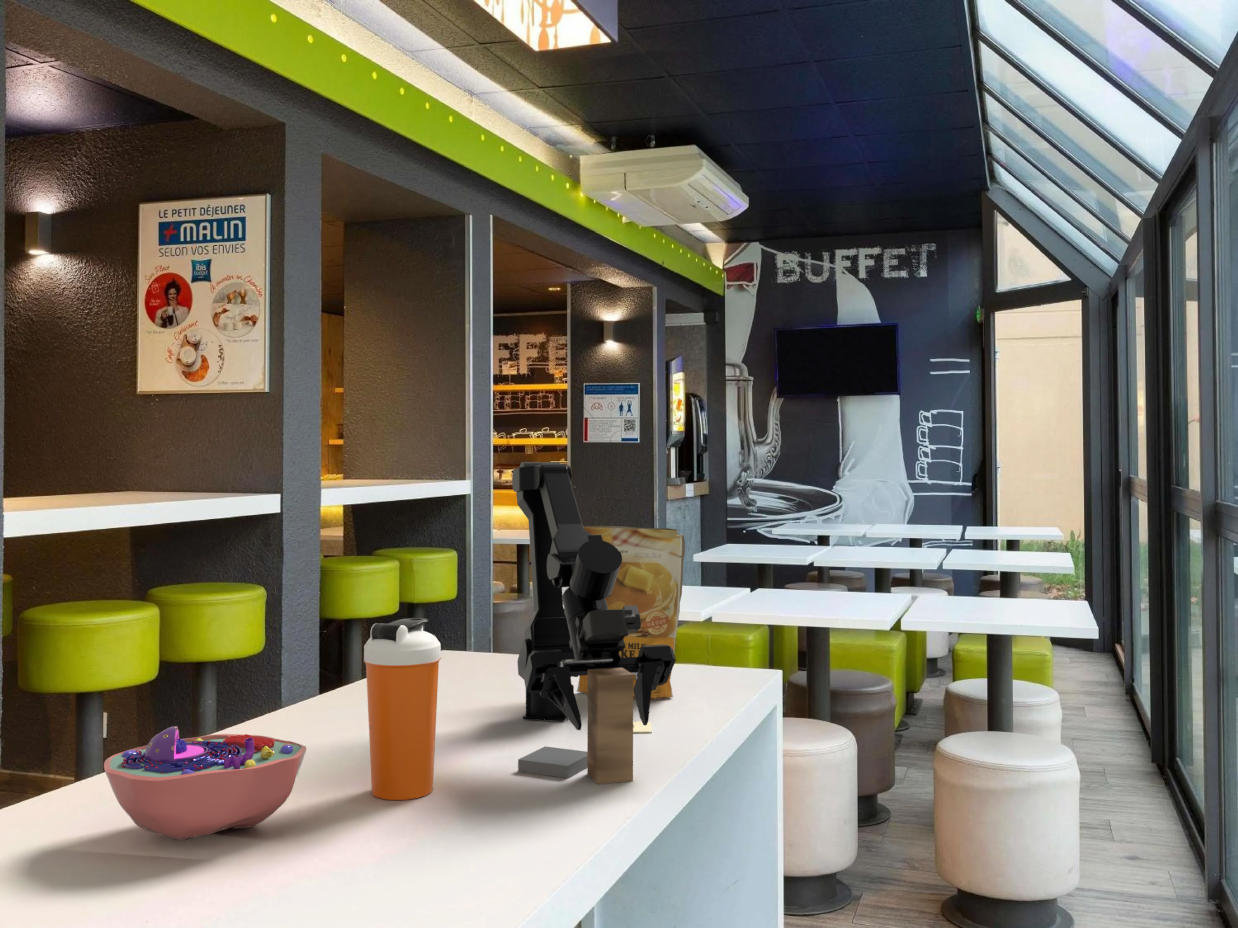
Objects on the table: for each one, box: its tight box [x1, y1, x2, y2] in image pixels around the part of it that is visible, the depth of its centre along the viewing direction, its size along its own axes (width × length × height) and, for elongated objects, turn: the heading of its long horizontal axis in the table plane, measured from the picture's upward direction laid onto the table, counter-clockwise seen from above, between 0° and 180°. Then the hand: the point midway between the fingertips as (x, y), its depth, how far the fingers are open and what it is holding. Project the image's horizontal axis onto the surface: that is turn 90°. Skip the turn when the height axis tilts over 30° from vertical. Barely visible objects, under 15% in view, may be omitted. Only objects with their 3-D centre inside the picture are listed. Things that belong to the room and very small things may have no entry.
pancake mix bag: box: [576, 525, 686, 701], centre depth 184 cm, size 7×19×28 cm, turn 74°
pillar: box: [586, 668, 634, 785], centre depth 136 cm, size 4×4×13 cm
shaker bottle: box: [363, 617, 442, 801], centre depth 130 cm, size 9×9×20 cm
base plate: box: [517, 746, 587, 779], centre depth 140 cm, size 7×7×2 cm
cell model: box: [103, 725, 307, 841], centre depth 116 cm, size 17×20×11 cm
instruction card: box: [633, 721, 652, 734], centre depth 161 cm, size 9×6×1 cm, turn 90°
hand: (613, 725), depth 135 cm, fingers open, 8 cm apart
